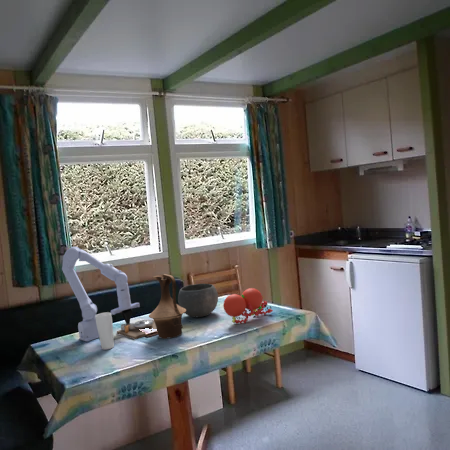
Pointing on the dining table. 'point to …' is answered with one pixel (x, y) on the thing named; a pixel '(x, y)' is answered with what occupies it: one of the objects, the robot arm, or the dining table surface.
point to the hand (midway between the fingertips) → (128, 325)
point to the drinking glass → (105, 330)
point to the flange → (138, 324)
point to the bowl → (198, 299)
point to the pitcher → (167, 310)
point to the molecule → (245, 305)
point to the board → (135, 332)
